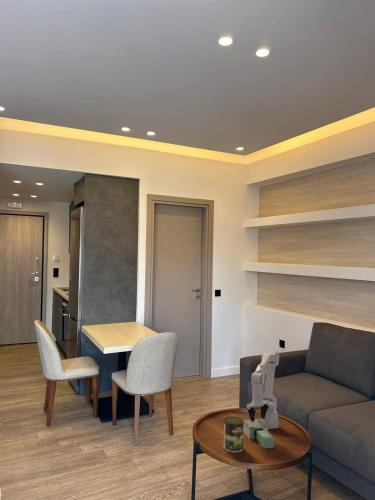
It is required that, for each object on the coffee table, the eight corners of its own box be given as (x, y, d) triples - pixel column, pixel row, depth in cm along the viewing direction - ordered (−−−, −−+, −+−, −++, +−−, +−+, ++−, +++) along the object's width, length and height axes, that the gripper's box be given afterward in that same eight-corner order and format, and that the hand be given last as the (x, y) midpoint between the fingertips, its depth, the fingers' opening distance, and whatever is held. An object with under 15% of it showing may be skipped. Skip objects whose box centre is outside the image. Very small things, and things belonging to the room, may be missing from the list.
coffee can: (247, 450, 189) (247, 422, 189) (229, 454, 184) (230, 425, 185) (236, 441, 198) (237, 415, 199) (219, 445, 194) (220, 417, 195)
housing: (259, 429, 214) (259, 418, 214) (267, 437, 204) (268, 425, 204) (242, 431, 211) (242, 420, 211) (249, 439, 201) (249, 427, 202)
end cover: (264, 438, 202) (264, 429, 202) (273, 447, 192) (273, 437, 192) (255, 439, 201) (255, 430, 201) (264, 448, 190) (264, 438, 191)
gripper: (262, 390, 210) (262, 414, 210) (242, 394, 203) (242, 420, 202) (271, 394, 204) (271, 419, 204) (251, 398, 197) (251, 424, 196)
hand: (257, 419), depth 203 cm, fingers open, 7 cm apart
